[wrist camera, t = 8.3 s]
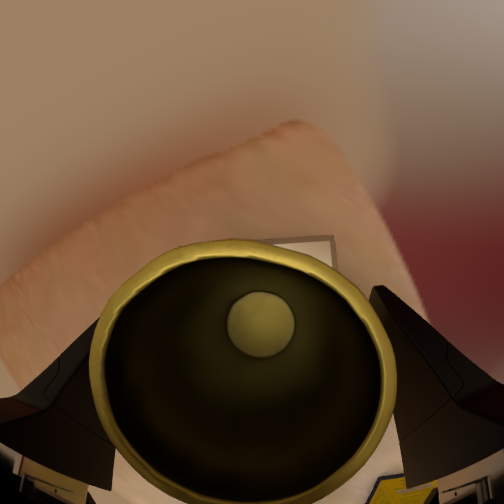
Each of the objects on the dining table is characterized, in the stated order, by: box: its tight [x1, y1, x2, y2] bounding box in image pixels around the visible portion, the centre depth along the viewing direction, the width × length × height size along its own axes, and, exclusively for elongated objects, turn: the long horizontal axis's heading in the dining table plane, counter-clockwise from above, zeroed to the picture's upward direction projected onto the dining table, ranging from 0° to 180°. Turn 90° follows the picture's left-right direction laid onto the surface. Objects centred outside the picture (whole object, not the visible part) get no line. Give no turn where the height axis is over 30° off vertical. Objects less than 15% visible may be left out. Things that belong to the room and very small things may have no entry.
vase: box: [89, 238, 397, 504], centre depth 11 cm, size 6×6×14 cm
